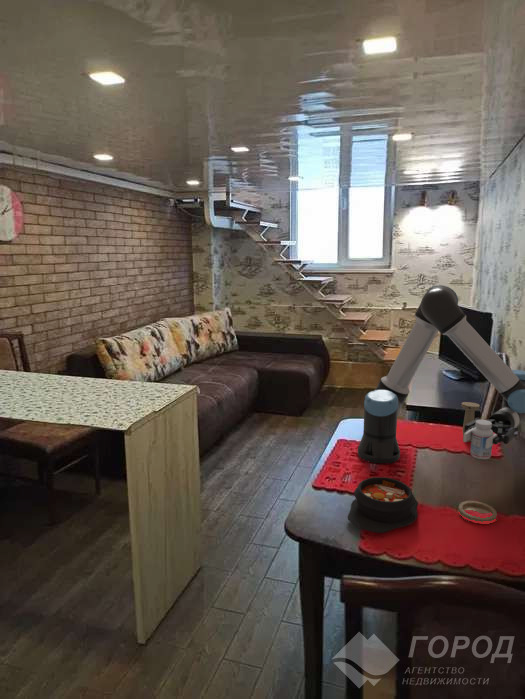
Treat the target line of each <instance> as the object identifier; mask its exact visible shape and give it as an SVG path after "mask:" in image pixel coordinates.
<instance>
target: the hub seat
mask: <svg viewBox="0 0 525 699" xmlns="http://www.w3.org/2000/svg"><path fill="white" fill-rule="evenodd" d="M458 504H459V505H458V508H457V512H458V511H459V512H460V514H461V515H462V516H464V517H466V518H468V519H470V520H475V521H481V522H483V521H492V520H494V519H496V516H497V515H498V512H497V510H496V509H495V508H494V507H493V506H491V505H489V504H487V503H485V502H481V501H477V500H465V501H462V502H459V503H458ZM464 510H473V511H477V512H479V513H490V512H491V513H492V514H493V515H492V516H490V517H486V518H480V517H476V516H472V515H470V514H468V513H466V512H465V511H464ZM497 517H498V516H497Z"/></svg>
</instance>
